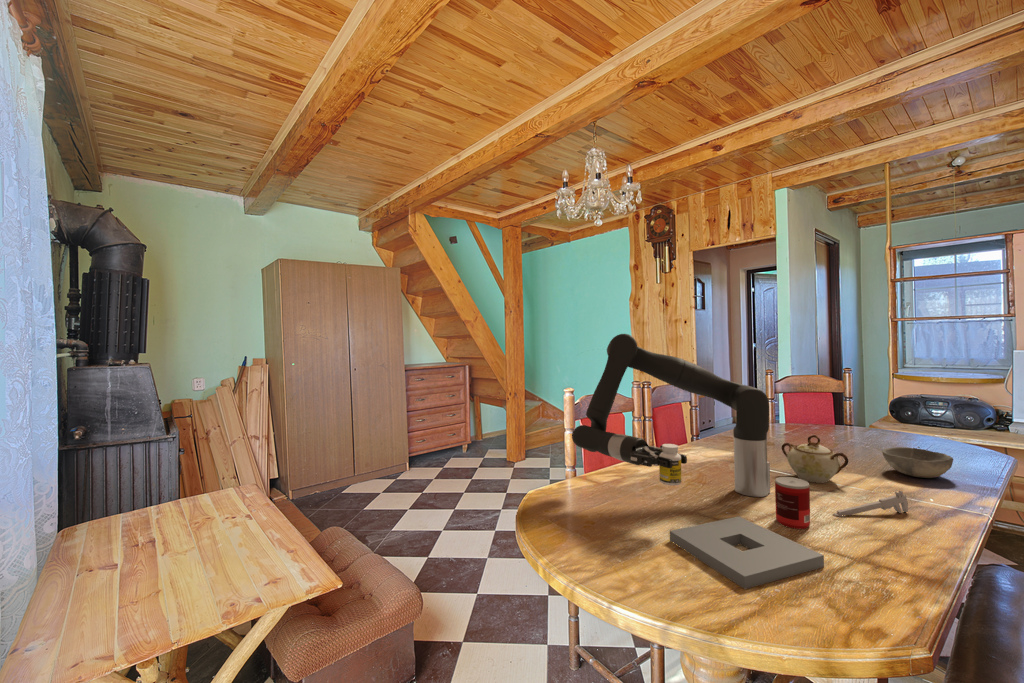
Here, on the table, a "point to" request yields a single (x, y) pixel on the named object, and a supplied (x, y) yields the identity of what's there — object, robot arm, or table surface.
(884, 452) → the bowl
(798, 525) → the canned food
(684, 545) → the socket board
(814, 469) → the sugar bowl
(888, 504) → the caliper
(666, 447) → the supplement bottle
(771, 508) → the table surface
